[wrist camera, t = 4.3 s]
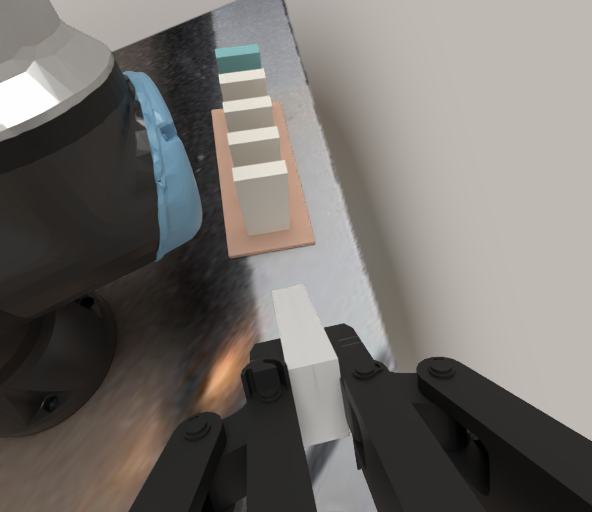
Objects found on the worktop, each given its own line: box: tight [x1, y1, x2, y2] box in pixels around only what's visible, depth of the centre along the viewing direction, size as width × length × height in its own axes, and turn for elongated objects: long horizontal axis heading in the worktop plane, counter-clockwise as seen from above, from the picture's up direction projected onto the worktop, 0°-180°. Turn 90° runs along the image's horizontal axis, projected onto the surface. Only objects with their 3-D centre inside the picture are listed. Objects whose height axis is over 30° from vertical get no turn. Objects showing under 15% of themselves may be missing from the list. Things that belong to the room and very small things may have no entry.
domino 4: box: [227, 126, 281, 168], centre depth 39 cm, size 2×5×10 cm, turn 101°
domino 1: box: [215, 44, 261, 74], centre depth 45 cm, size 2×5×10 cm, turn 101°
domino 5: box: [232, 160, 290, 236], centre depth 37 cm, size 2×5×10 cm, turn 101°
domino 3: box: [223, 96, 274, 133], centre depth 41 cm, size 2×5×10 cm, turn 101°
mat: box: [211, 101, 315, 259], centre depth 45 cm, size 24×10×1 cm, turn 11°
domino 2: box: [219, 68, 267, 102], centre depth 43 cm, size 2×5×10 cm, turn 101°
